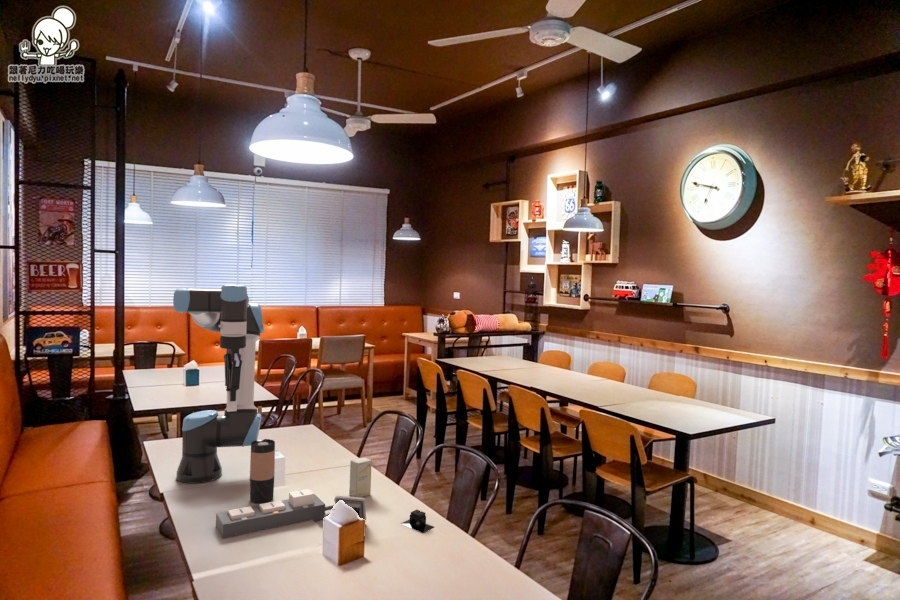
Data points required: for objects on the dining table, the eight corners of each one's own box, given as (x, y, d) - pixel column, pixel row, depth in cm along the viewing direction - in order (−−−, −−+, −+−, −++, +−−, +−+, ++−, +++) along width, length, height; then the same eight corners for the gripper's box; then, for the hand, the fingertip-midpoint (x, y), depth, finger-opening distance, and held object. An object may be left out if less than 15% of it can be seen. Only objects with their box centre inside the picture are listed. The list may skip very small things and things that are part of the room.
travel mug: (266, 508, 185) (267, 446, 184) (244, 505, 187) (246, 444, 186) (278, 499, 193) (279, 440, 192) (257, 496, 194) (258, 437, 193)
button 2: (259, 520, 174) (259, 504, 174) (280, 516, 177) (280, 500, 177) (263, 526, 170) (263, 509, 170) (284, 521, 174) (285, 505, 174)
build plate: (440, 529, 176) (441, 514, 176) (424, 537, 171) (425, 522, 170) (410, 517, 184) (410, 503, 184) (394, 524, 178) (394, 510, 178)
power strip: (215, 529, 169) (216, 512, 169) (330, 506, 189) (331, 490, 189) (222, 542, 162) (223, 523, 162) (341, 516, 181) (342, 500, 181)
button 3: (288, 508, 179) (289, 492, 179) (308, 504, 182) (309, 488, 182) (293, 513, 175) (293, 497, 175) (313, 509, 179) (314, 493, 178)
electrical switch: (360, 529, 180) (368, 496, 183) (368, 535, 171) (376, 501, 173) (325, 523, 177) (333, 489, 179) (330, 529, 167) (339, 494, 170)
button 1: (227, 527, 169) (228, 510, 169) (250, 522, 172) (250, 505, 172) (231, 533, 165) (231, 515, 165) (254, 528, 169) (254, 511, 169)
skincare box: (356, 498, 196) (357, 463, 195) (348, 494, 199) (349, 460, 198) (371, 494, 200) (372, 459, 200) (363, 490, 203) (364, 456, 203)
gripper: (215, 333, 181) (214, 407, 182) (225, 337, 170) (223, 417, 171) (240, 332, 185) (238, 405, 186) (251, 337, 174) (249, 414, 176)
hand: (231, 410), depth 179 cm, fingers closed
